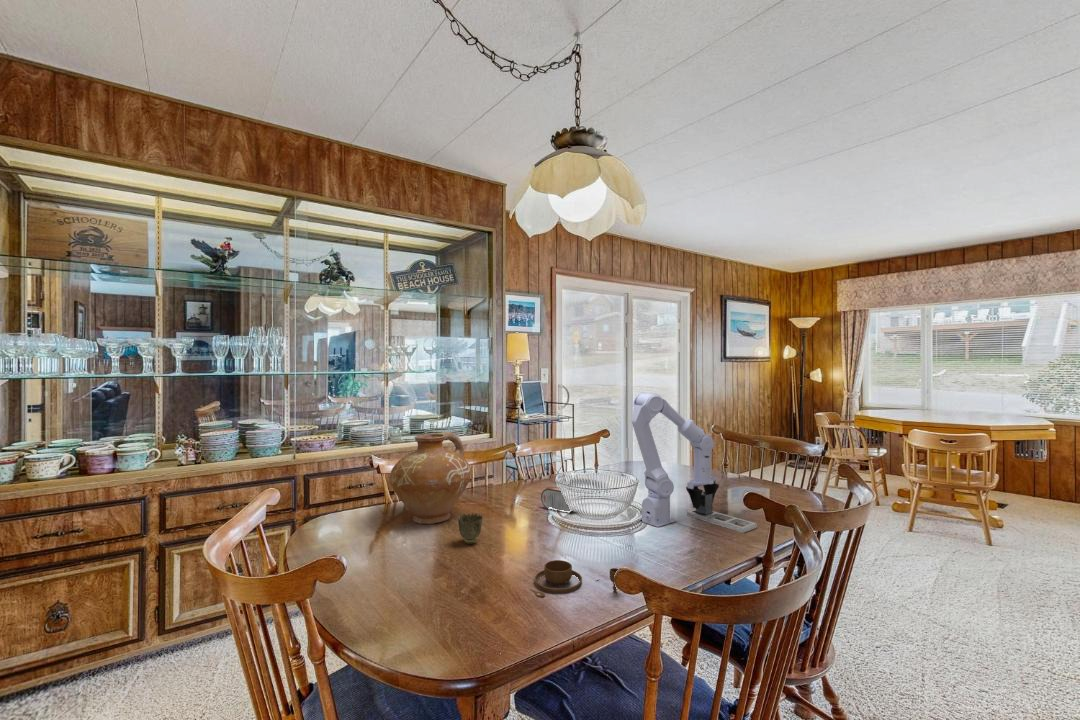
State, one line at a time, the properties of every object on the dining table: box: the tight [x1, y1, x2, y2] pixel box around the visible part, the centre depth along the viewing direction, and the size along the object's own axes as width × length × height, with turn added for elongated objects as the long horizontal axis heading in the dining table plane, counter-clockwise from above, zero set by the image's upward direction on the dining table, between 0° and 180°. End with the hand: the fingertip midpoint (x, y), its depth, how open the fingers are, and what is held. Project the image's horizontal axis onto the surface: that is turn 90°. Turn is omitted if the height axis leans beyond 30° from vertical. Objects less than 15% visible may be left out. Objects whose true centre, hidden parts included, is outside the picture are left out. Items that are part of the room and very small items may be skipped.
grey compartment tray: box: [686, 508, 758, 534], centre depth 167 cm, size 8×22×2 cm, turn 36°
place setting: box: [529, 559, 619, 598], centre depth 120 cm, size 18×20×6 cm
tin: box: [540, 485, 570, 511], centre depth 180 cm, size 15×3×8 cm, turn 58°
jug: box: [389, 431, 472, 525], centre depth 173 cm, size 28×28×30 cm
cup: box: [457, 512, 483, 545], centre depth 150 cm, size 8×7×8 cm
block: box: [695, 490, 713, 516], centre depth 172 cm, size 4×4×8 cm
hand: (702, 505), depth 172 cm, fingers open, 7 cm apart
